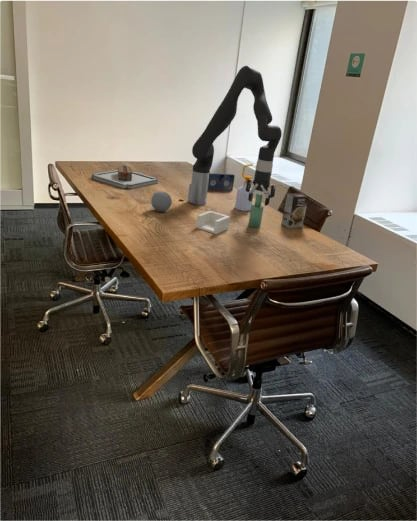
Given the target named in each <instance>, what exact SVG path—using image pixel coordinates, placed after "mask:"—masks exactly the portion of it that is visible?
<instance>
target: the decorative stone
mask: <svg viewBox="0 0 417 521" xmlns="http://www.w3.org/2000/svg"><path fill="white" fill-rule="evenodd" d="M150 202H151V205H152V208H153V209H154V210H156V211H157V212H161V213H163V212H166V211H168V210H169V209H170V208H171V205H172V202H173V201H172V197H171V195H170V194H169V193H168V192H167V191H163V190H162V191H161V190H160V191H156V192H154V194H153V195H152V196H151V200H150Z"/></svg>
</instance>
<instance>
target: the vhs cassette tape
mask: <svg viewBox="0 0 417 521" xmlns="http://www.w3.org/2000/svg"><path fill="white" fill-rule="evenodd" d="M235 177H236V176H235V174H231V173H229V174H227V173H212V172H211V173H210V174H209V182H208V190H207V191H221V190H226V191H228V192H229V191H230V192H232V190H233V189H234V183H235ZM226 191H225V192H226ZM233 191H234V190H233Z"/></svg>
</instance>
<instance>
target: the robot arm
mask: <svg viewBox="0 0 417 521" xmlns="http://www.w3.org/2000/svg"><path fill="white" fill-rule="evenodd" d="M263 80H264V79H263V76H262V73H261V72H260V71H259V70H257V69H255V68H253V67H251V66H249V65H243V66H242V67H241V68H240V69H239V70H238V72H237V73H236V76H235V78H233V81H232V83H231V85H230V87H229V89H228V92H226V95H225V96H224V98H223V100H222V101H221V103H220V104H219V106H218V107H217V109H216V111H215V112H214V114H213V116H212V117H211V119H210V120H209V122H208V124H207V126H206V127H205V129H204V131H203V132H202V133H201V135H200V136H199V137H198V139H196V141H195V142H194V144H193V146H192V149H191V151H192V156H193V157H194V158H195V159H196V161H195V162H194V163H193V165H192V172H191V181H190V183H189V185H188V193H187V202H188V203H190V204H193V205H199V206H203V205H206V204H207V196H208V191H209V190H208V182H209V174H210V172H211V169H212V166H213V161H214V154H215V147H214V142H215V141H216V140H217V138H218V137H220V136H221V134H223V132H225V131H226V129H227V128H228V127H229V126H230V125H231V124H232V122H233V121H234V118H235V117H236V115H237V110H238V101H239V98H240V95H241V94H242V92H243V90H244V89H247V90H249V91H250V92H251V93H252V96H253V98H254V99H253V105H252V106H253V113H254V116H255V118H256V121H257V136H258V138H259V139H260V141H262V142H267V144H265V145H263V146H261V147H260V148H259V151H258V156H257V161H256V165H255V170H254V171H255V172H254V177H253V178H254V179H253V178H252V179H248V181H247V185H246V191H247V192H248V193H249V197H248V200H249V201H250V202H251V201H252V198H253V199H254V195H253V192H254V193H255V192H256V191H260V192H261V193H263V194H264V195H265V200H264V207H265V206H269V204H270V202H271V201H270V200H271V199H273V198H274V197H275V194H276V188H277V185H276V184H272V183H270V182H271V177H272V173H273V172H272V171H273V166H274V165H273V164H274V157H275V152H276V150H277V147H278V145H279V143H280V141H281V138H282V133H283V132H282V129H281V127H280V126H278V125H271V123H272V121H273V115H272V112H271V109H270V107H269V104H268V100H267V97H266V91H265V86H264V81H263ZM252 185H253V186H252ZM250 188H252V189H251V190H250ZM269 189H270V190H269ZM252 202H253V201H252Z"/></svg>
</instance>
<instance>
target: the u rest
mask: <svg viewBox="0 0 417 521" xmlns="http://www.w3.org/2000/svg"><path fill="white" fill-rule="evenodd" d="M196 217H197V218H196V224H195V228H196V229H200V230H201V231H206V232H208V233H211V234H215V235H218V234H220V233H222V232H225V231H226V230H228V229H229V226H230V220H231V216H229V215H226V214H222V213H219V212H215V211H212V210H208V211H206V212H203V213H199V214H198V215H197V216H196Z"/></svg>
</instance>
